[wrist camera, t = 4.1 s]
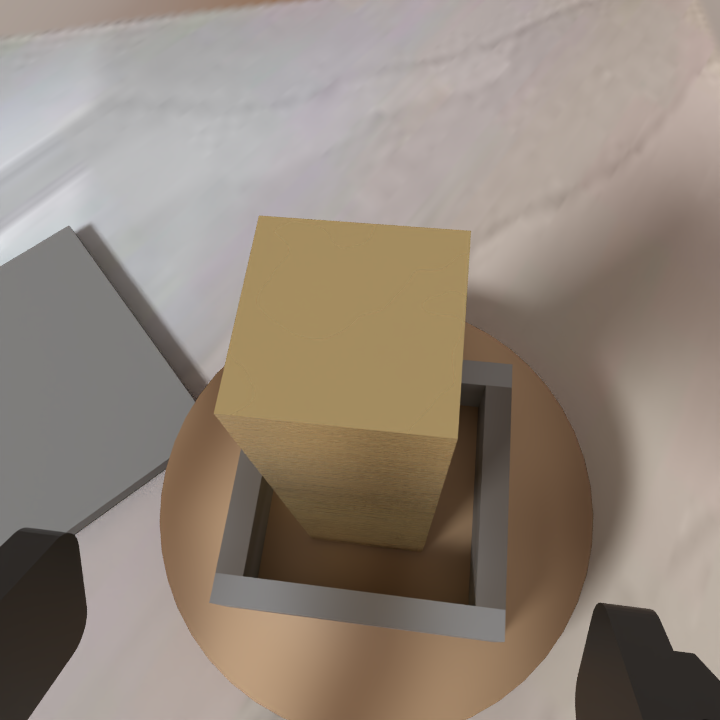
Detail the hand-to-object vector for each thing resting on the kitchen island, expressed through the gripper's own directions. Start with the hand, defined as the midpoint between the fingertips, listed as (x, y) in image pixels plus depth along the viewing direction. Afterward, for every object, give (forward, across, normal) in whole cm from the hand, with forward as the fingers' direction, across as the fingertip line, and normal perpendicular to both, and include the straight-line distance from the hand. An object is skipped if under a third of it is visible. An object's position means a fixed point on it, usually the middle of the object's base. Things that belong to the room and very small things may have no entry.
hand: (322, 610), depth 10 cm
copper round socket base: (+12, 0, +6) cm, 13 cm away
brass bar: (+10, 0, +4) cm, 11 cm away
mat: (+13, +15, +4) cm, 20 cm away
